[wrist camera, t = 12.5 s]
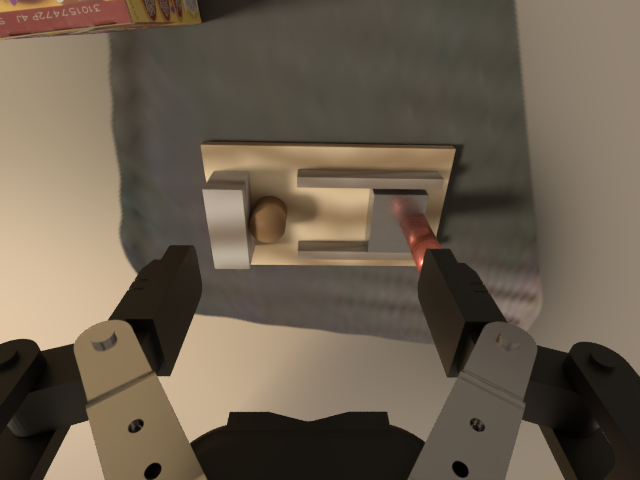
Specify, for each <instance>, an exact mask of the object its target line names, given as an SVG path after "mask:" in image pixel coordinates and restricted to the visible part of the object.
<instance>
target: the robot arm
mask: <svg viewBox="0 0 640 480" xmlns="http://www.w3.org/2000/svg"><path fill="white" fill-rule="evenodd" d="M201 293H202V280H201V275H200V270H199V265H198V259H197V254H196V250H195V247H194V246H190V245H171V246H169V247H168V249H167V251H166V252H165V254H164V256H163V257H162V259H161V260H153V261H152V262H150V263H149V264H148V265H146V266H145V267H144V268H142V269H141V271H140V272H139V274H138V275H137V277H136V278H135V281H134V282H133V283H132V284H131V286H130V288H129V290H128V291H127V292H126V294H125V295H124V297H123V298H122V300H121V301H120V303H119V304H118V306H117V307H116V309H115V310H114V312H113V314H112V315H111V316H110V318H109V319H108V321H104V322H101V323H98V324H96V325H93V326H91V327H90V328H88V329H87V330H85V331H84V332H83V333H82V334H81V335H80V336H79V337H78V338H77V340H76V341H75V343H74V344H70V345H66V346H61V347H57V348H53V349H48V350H45V351H41V350H40V348H39V347H38V345H37V343H36V342H34V341H32V340H29V339H17V340H12V341H8V342H5V343H2V344H0V480H43V479H44V477H45V475H46V473H47V471H48V469H49V467H50V465H51V463H52V461H53V459H54V457H55V455H56V454H57V451H58V450H59V447H60V446H61V444H62V442H63V440H64V438H65V436H66V434H67V432H68V430H69V428H70V426H71V425H74V424H77V423H81V422H84V421H88V420H89V422H90V426H91V430H92V433H93V437H94V440H95V445H96V448H97V452H98V456H99V460H100V463H101V467H102V471H103V474H104V478H105V480H505V478H506V474H507V470H508V467H509V463H510V460H511V456H512V453H513V449H514V445H515V442H516V438H517V435H518V431H519V427H520V424H521V420H525V421H528V422H532V423H535V424H538V425H539V427H540V429H541V431H542V433H543V435H544V437H545V439H546V441H547V444H548V445H549V448H550V450H551V452H552V454H553V456H554V458H555V460H556V462H557V464H558V466H559V468H560V470H561V473H562V475H563V477H564V479H565V480H640V377H639V375H638V374H637V373H636V372H635V371H634V369H633V368H632V367H631V366H630V364H629V363H628V362H627V361H626V360H625V359H624V358H623V357H622V356H620V355H619V354H617V353H616V352H614V351H613V350H611V349H609V348H607V347H605V346H602V345H599V344H596V343H592V342H579V343H576V344H574V345H573V346H572V348H571V350H570V352H569V353H566V352H562V351H558V350H553V349H550V348H545V347H542V346H538V345H536V342H535V341H534V339H533V338H532V337H531V335H529V334H528V333H527V332H526V331H525V330H523V329H521V328H520V327H518V326H516V325H513V324H510V323H508V322H507V321H506V319H505V318H504V316H503V314H502V313H501V311H500V310H499V308H498V306H497V305H496V303H495V302H494V300H493V298H492V297H491V295H490V294H489V293H488V290H487V289H486V287H485V285H483V282H482V281H481V279H480V277H479V276H478V274H477V273H476V272H475V271H474V270H473V269H472V268H470V267H469V266H468V265H466V264H465V263H458V262H457V260H456V258H455V257H454V255H453V253H452V252H451V250H450V249H429V248H428V249H426V251H425V254H424V258H423V263H422V268H421V272H420V277H419V282H418V298H419V302H420V304H421V307H422V310H423V313H424V315H425V318H426V321H427V324H428V326H429V329H430V332H431V335H432V337H433V340H434V343H435V345H436V348H437V351H438V354H439V356H440V359H441V362H442V365H443V367H444V370H445V373H446V376H447V377H457V379H456V381H455V383H454V385H453V388H452V390H451V392H450V394H449V396H448V398H447V400H446V402H445V404H444V406H443V408H442V410H441V412H440V414H439V416H438V418H437V420H436V422H435V424H434V427H433V428H432V431H431V432H430V434H429V437H428V439H427V441H426V443H425V442H424V441H423V440H421V439H420V438H418V437H417V436H415V435H414V434H411V433H410V432H408V431H406V430H404V429H402V428H399V427H396V426H392V425H389V420H388V414H387V412H346V413H342V414H338V415H334V416H330V417H327V418H323V419H319V420H315V421H309V422H308V421H302V420H298V419H295V418H290V417H286V416H282V415H278V414H275V413H271V412H230V413H229V418H228V423H227V425H225V426H222V427H219V428H216V429H214V430H211V431H209V432H207V433H205V434H203V435H201V436H200V437H198V438H197V439H195V440H194V441H192V442H191V443H189V441H188V439H187V437H186V435H185V433H184V431H183V429H182V427H181V425H180V423H179V421H178V418H177V416H176V414H175V412H174V410H173V408H172V406H171V404H170V402H169V400H168V398H167V396H166V394H165V392H164V389H163V387H162V385H161V383H160V382H159V379H158V377H157V376H170V375H171V373H172V370H173V368H174V365H175V362H176V360H177V357H178V355H179V352H180V349H181V347H182V344H183V342H184V339H185V337H186V334H187V331H188V329H189V326H190V324H191V321H192V319H193V316H194V314H195V311H196V308H197V306H198V303H199V301H200V298H201ZM600 428H601V429H600ZM605 436H606V437H605ZM610 444H611V445H610Z"/></svg>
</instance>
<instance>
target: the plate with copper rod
mask: <svg viewBox="0 0 640 480" xmlns="http://www.w3.org/2000/svg"><path fill="white" fill-rule="evenodd" d="M428 198H429V195H428V193H427V192H426V190H425V189H370V194H369V204H368V213H367V223H366V232H365V242H366V247H367V251H368V252H376V253H411V254H412V257H413V259H414V262H415V264H416V267H417V269H418V272H419V274H420V272H421V268H422V263H423V258H424V254H425V251H426V249H428V248H429V249H442V247H441V245H440V244H439V242H438V240H437V238H436V236H435V234H434V233H433V231H432V229H431V227H430V225H429V223H428V221H427V220H426V218H425V213H426V208H427V203H428Z"/></svg>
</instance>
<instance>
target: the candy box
mask: <svg viewBox="0 0 640 480" xmlns="http://www.w3.org/2000/svg"><path fill="white" fill-rule="evenodd" d="M200 23H201V18H200V13H199V8H198V3H197V0H0V40H4V39H19V38H32V37H50V36H63V35H79V34H96V33H110V32H121V31H130V30H140V29H149V28H158V27H168V26H177V25H190V24H200Z"/></svg>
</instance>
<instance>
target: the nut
mask: <svg viewBox="0 0 640 480" xmlns="http://www.w3.org/2000/svg"><path fill="white" fill-rule="evenodd" d="M286 218H287V207H286V205H285V203H284V202H283V201H282V200H281V199H279V198H277V197H274V196H265V197H262V198H260V199H259V200H258V201H257V202H256V204H255V206H254V210H253V213H252V216H251V220H250V223H249V229H250V232H251V234H252V235H253V237H254V238H256V239H257V240H259V241H261V242H265V243H272V242H275V241H277V240H279V239H280V238H281V237H282V236H283V235H284V232H285V226H286Z"/></svg>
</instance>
